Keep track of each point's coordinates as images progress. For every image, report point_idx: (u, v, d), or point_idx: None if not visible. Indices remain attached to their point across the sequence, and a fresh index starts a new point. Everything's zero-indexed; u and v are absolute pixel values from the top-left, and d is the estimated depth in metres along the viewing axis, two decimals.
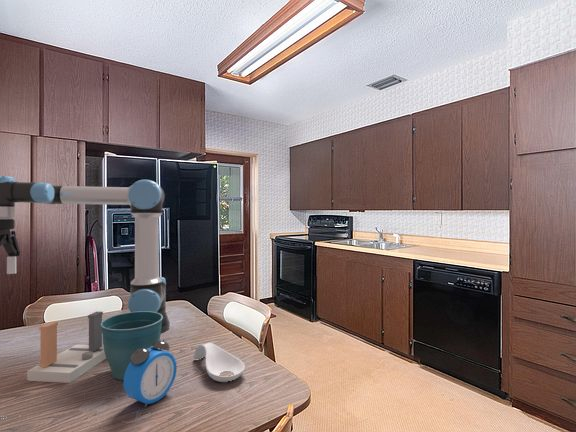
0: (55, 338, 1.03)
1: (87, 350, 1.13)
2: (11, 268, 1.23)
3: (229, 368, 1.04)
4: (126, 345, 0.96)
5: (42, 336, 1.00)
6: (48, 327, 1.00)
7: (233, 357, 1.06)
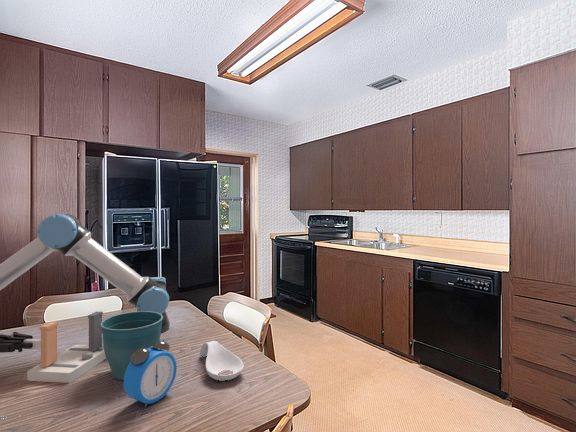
0: (55, 338, 1.03)
1: (87, 350, 1.13)
2: None
3: (229, 367, 1.05)
4: (126, 345, 0.96)
5: (43, 336, 1.00)
6: (48, 327, 1.00)
7: (234, 356, 1.07)
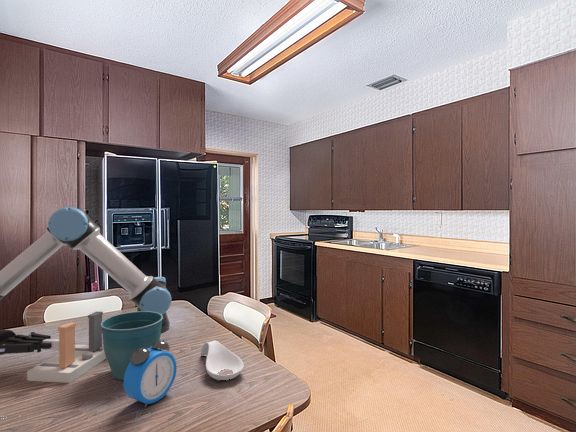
0: (73, 339, 1.03)
1: (87, 350, 1.13)
2: None
3: (230, 367, 1.05)
4: (126, 345, 0.96)
5: (61, 337, 1.00)
6: (67, 328, 1.00)
7: (235, 356, 1.07)
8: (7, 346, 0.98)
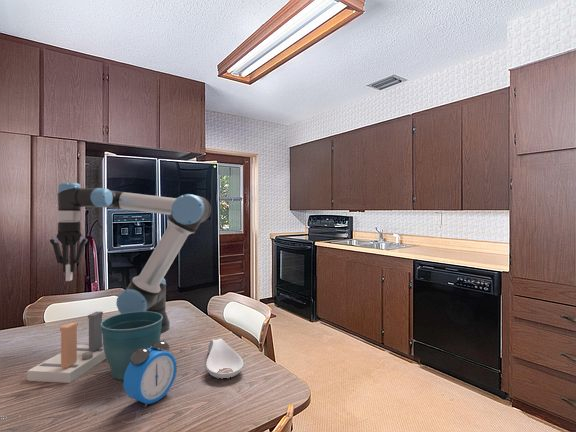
0: (75, 339, 1.03)
1: (87, 350, 1.13)
2: None
3: (231, 366, 1.06)
4: (126, 345, 0.96)
5: (63, 337, 0.99)
6: (69, 328, 1.00)
7: (236, 355, 1.07)
8: None
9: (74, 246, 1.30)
